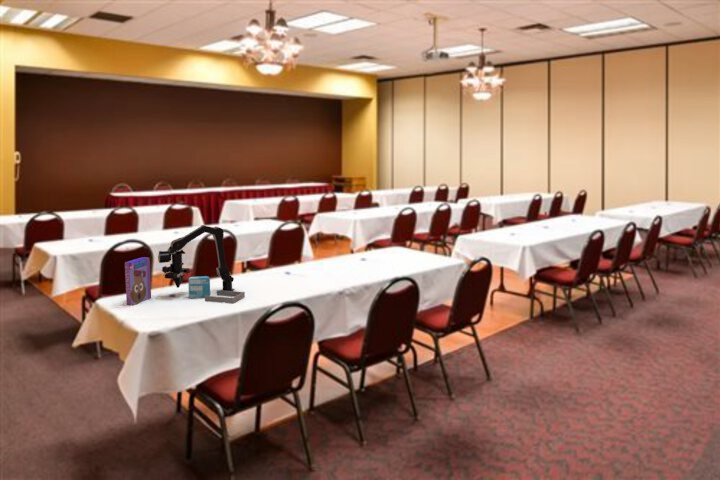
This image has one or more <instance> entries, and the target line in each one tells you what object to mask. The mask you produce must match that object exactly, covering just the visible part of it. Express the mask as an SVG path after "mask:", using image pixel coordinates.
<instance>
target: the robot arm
mask: <svg viewBox="0 0 720 480" xmlns="http://www.w3.org/2000/svg"><path fill="white" fill-rule="evenodd" d="M204 233H207V234H211V235H212V238H213V241H214V242H215V248H216V249H215V250H216V255H217V261H218V267H216V268H215V269H216V274H217V276H218V277H219V278H220V279H221V280H222V289H221V290H222V291H234V290H235V288H233V282H234V279H235V278H234V277H233V276H232V275H231V272H230V269H229V267H228V265H227V263H226V256H225V249H224V242H223V241H224V230H223V228H221V227H219V226H214V227H212V226H209V225H208V226H207V225H205V224H202V225H200V226H199V227H197V228H196V229H194V230H192V231H191V232H189V233H187V234H186V235H184V236H181V237H179V238H176V239H174V240H172V241H171V242H170V246H169V247H168V248H167V250H159V251H158V255H157V260H158V264H159V263H160V264H164V263H170V262H171V263H170V264H169V266H167V265H165V266H162V267H161V268H162V269H161V271H162V273H164V279H171V280H173V281H174V284H175V286H176V288H177V289H178V288H180V286H181V284H182V282H183V280H184V278H185V277H186V275H185V274H184V273H186V274H187V275H188V274H190V273H191V269H190V268H188V267H183V266H184V265H185V264H184V263H185V262H183V255H185V254H186V252H185V251H184V249H183V248H184V247H186V245H187V244H189V243H190V242H191V241H193V240H194V239H197V237H199V236H201V235H203V234H204Z"/></svg>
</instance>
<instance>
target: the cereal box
mask: <svg viewBox="0 0 720 480" xmlns="http://www.w3.org/2000/svg"><path fill="white" fill-rule="evenodd" d="M150 261H151V260H150V257H146V256H144V257H139V258H135V259H132V260H128V261H125V262H124V276H125V297H126V298H125V299H126V305H127V306H136V305H139V304H141V303H144V302H145V301H147V300H150V299H151V298H152V284H151V283H152V282H151V262H150Z"/></svg>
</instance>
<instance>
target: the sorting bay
mask: <svg viewBox="0 0 720 480" xmlns="http://www.w3.org/2000/svg"><path fill="white" fill-rule="evenodd" d="M245 293H246V292H245V291H234V290H233V291H222V289H217V290H216V296H213V295H210V296H205V298H204V301H205V302H210V303H211V302H213V303H223V302H225V304H226V303H227V304H228V303H229V304H235V303H236V302H238V301H240V300H242V299H243V298H245V296H246V295H245Z"/></svg>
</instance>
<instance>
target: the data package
mask: <svg viewBox="0 0 720 480" xmlns="http://www.w3.org/2000/svg"><path fill="white" fill-rule="evenodd" d="M187 281H188V283H187V284H188V297H189V298H190V299H205V296H211V279H210V276H207V275H204V276H201V275H200V276H190V277H189V278H188V280H187Z"/></svg>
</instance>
